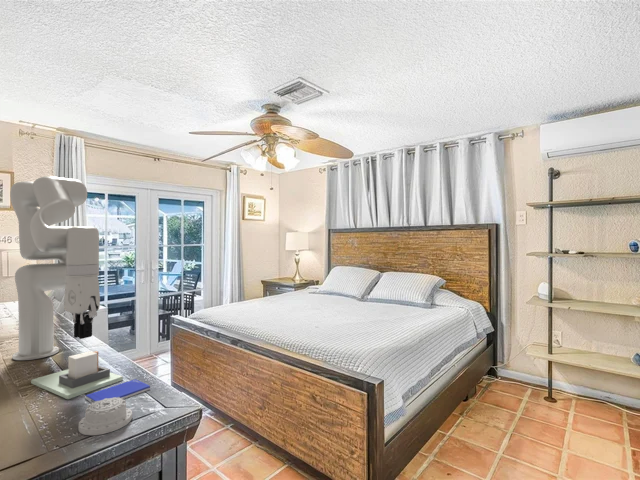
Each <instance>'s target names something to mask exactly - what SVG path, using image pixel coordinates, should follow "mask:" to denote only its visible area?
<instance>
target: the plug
mask: <svg viewBox="0 0 640 480" xmlns="http://www.w3.org/2000/svg"><path fill="white" fill-rule="evenodd" d="M67 360H68V366H67V369H68V377H70V378H72V379H77V378H80V377H83V376H86V375H90V374H93V373H96V372H98V366H99V351H97V350H95V351H90V350H89V351H86V352H82V353H78V354H77V353H76V354H72V355H69V356H68V357H67Z"/></svg>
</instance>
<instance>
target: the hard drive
mask: <svg viewBox="0 0 640 480" xmlns="http://www.w3.org/2000/svg"><path fill="white" fill-rule="evenodd" d="M149 390H151V386H150V385H149V384H147V383H145V382H143V381H140V380H139V379H136V378H134V379H132V380H128V381H126V382H125V381H124V382H122V383H119V384H116V385H112V386H109V387H107V388H104V389H101V390H98V391H95V392H92V393H88V394H86V395H85V396H84V398H85V400H87V401H88V402H90V403H95V401H100V400H104V399H105V398H107V399H108V398H114V397H116V398H118V397H120V398H123V400H125V399H127V398H130V397H133V396H135V395H138V394H141V393H143V392H147V391H149Z"/></svg>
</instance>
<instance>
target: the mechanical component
mask: <svg viewBox="0 0 640 480" xmlns="http://www.w3.org/2000/svg"><path fill="white" fill-rule="evenodd" d="M90 403H91V404H88V405H87V407H86V408H85V411H84V412H85V413H84V414H85V416H84V417H82V418H81V419H80V421H78V432H79V434H82V435H83V436H98V435H105V434H108V433H112V432H114V431H117V430H120V429H121V428H124V427H126V426H127V425H128V424H129V423H130V422H131V421H132V419H133V411H132V409H131V408H129V407H127V403H126V400H125V399H123V398H120V397H118V398H116V397H114V398H108V399H107V398H105V399H104V400H100V401H95V403H92V402H90Z"/></svg>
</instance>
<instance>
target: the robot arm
mask: <svg viewBox="0 0 640 480" xmlns="http://www.w3.org/2000/svg"><path fill="white" fill-rule="evenodd" d="M9 196H10V202H11V206H12V208H13V210H14V212H15V214H16V217H17V222H18V242H19V244H18V246H19V253H20V256H21V258H22V259H25V260H26V261H27V260H28V261H48V260H49V261H50V260H51V261H52V260H57V261H58V263H57V262H56V263H33V264H31V263H30V264H26V265H23V266H20V267H19V268H18V269H17V270H16V271H15V273H14V282H15V283H14V284H15V286H16V292H17V299H18V300H17V302H18V307H17V308H18V351H17V352H14V353H13V354H12V360H14V361H31V360H39V359H42V358H46V357H50V356H53V355H56V354H57V353H58V352H59V351H60V348H59V347H58V346H56V345H55V344H54V341H55V339H54V336H55V335H54V334H55V333H54V328H55V327H54V324H55V323H54V320H55V319H54V314H55V313H54V312H55V311H54V310H55V309H54V302H53V299H52V298H50V296H49V295H47V294H46V293H45V292H47V291H56V290H64V294H63V295H64V297H63V310H65V311H66V312H69V313H70V314H71V315H72V322H73V338H78V339H79V340H82V339H86V338H87V339H88V338H90V337H93V322H94V318H95V317H97V316H98V311H99V310H100V306H101V293H100V283H99V276H100V232H99V229H98V228H96V227H94V226H72V225H71V226H68V225H64V226H63V225H56V224H59V223H63V222H65V221H67V220H69V219H71V218H72V217H73V216H74V215H75V213H76V208H77V207H79V206H81V205H83V204H85V202H86V200H87V198H88V190H87V187H86V185H85V184H84V183H83V182H82V181H81V180H79V179H74V178H68V177H67V178H65V177H58V176H40V177H38V178H36V179H35V180H34V181H17V182H14V183H13V184H12V185H11V188H10V192H9ZM54 345H55V346H54Z"/></svg>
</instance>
